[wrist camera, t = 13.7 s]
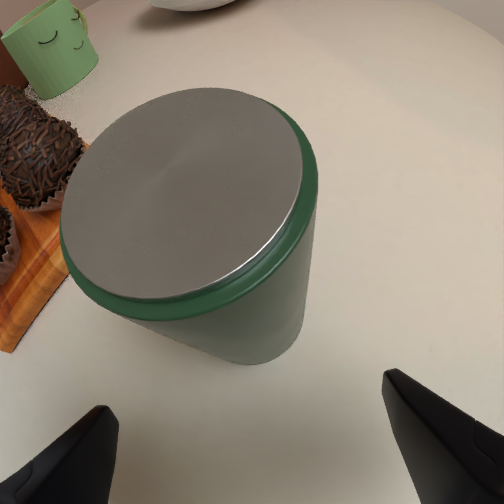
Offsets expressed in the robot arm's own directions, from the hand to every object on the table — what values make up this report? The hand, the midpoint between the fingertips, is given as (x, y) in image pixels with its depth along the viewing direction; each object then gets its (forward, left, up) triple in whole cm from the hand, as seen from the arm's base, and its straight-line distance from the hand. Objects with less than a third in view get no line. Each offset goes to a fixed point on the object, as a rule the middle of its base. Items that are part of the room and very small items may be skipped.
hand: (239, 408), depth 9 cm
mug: (+38, +27, -8) cm, 47 cm away
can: (+5, +1, -7) cm, 9 cm away
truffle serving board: (+16, +25, -8) cm, 30 cm away
